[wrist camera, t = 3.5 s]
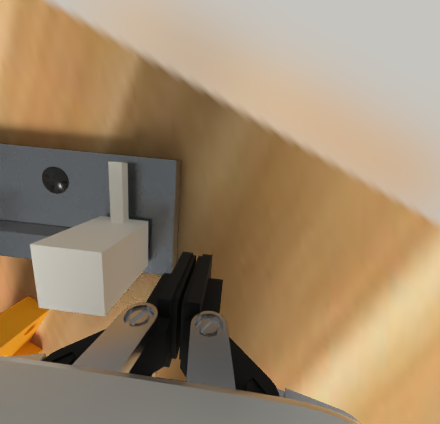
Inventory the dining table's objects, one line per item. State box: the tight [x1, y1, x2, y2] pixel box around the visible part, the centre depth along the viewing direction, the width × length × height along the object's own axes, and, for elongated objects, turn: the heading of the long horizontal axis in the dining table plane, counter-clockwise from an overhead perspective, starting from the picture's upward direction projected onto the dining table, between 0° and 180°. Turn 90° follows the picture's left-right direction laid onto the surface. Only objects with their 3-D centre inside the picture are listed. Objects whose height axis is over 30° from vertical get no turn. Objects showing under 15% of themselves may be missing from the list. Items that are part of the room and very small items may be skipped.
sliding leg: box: [30, 162, 148, 316], centre depth 14 cm, size 8×4×6 cm, turn 175°
